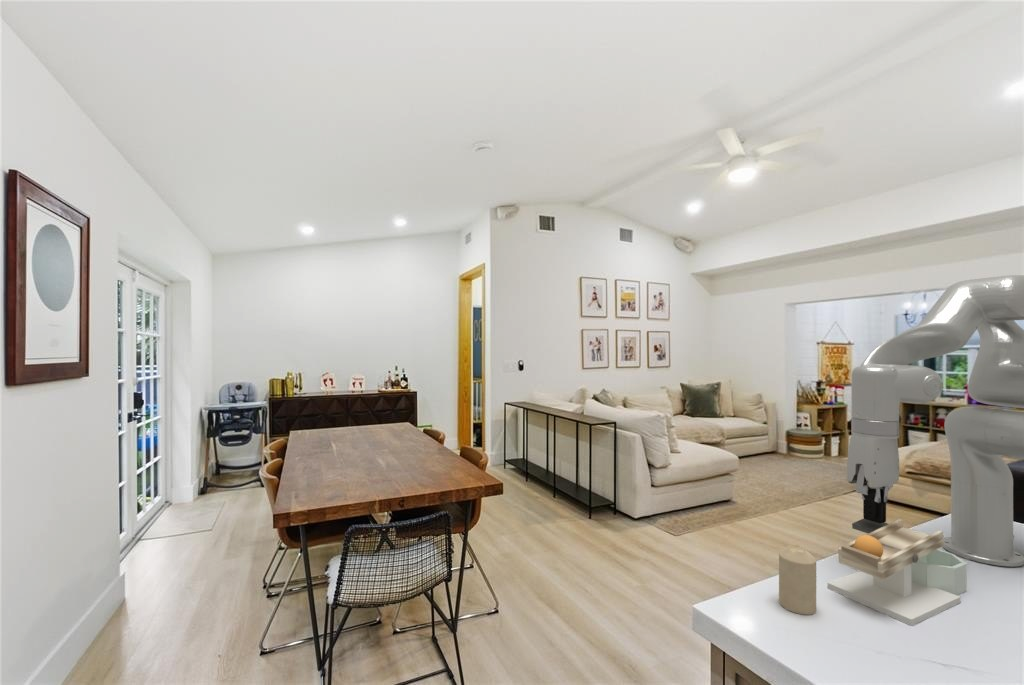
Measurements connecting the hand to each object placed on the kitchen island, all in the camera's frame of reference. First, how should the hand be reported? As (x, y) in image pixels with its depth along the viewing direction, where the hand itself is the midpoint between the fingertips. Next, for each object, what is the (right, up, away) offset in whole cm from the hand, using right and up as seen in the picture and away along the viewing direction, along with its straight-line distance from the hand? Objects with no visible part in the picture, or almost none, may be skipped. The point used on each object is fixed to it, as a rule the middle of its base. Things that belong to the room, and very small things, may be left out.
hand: (874, 520), depth 93 cm
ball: (-10, 0, -12) cm, 15 cm away
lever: (-5, -3, -6) cm, 8 cm away
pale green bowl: (+7, -10, -3) cm, 13 cm away
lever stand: (-4, -10, -9) cm, 14 cm away
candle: (-23, -10, -12) cm, 28 cm away
